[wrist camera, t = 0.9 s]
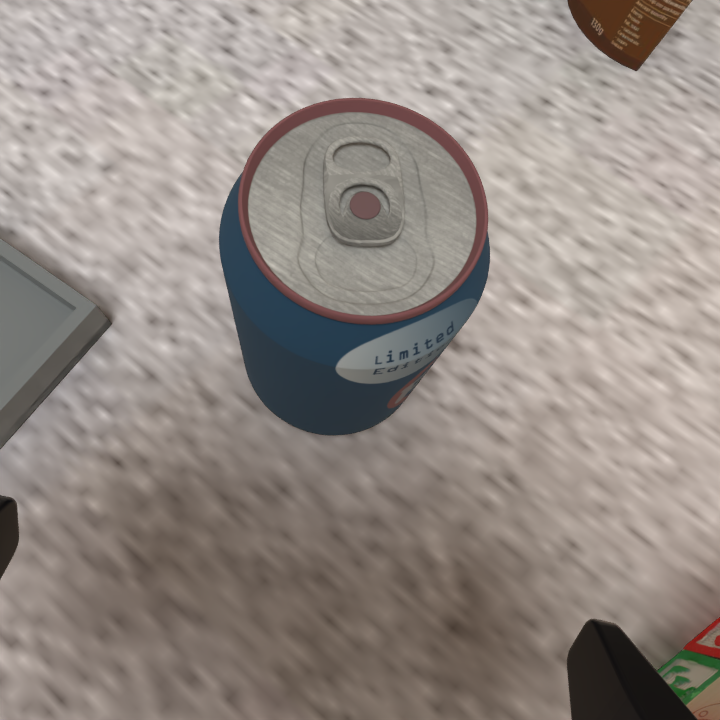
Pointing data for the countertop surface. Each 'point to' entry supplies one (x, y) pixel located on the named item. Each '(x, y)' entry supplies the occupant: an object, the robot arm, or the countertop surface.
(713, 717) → the stack of blocks
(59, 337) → the tray
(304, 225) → the soda can
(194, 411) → the countertop surface
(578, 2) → the food container
